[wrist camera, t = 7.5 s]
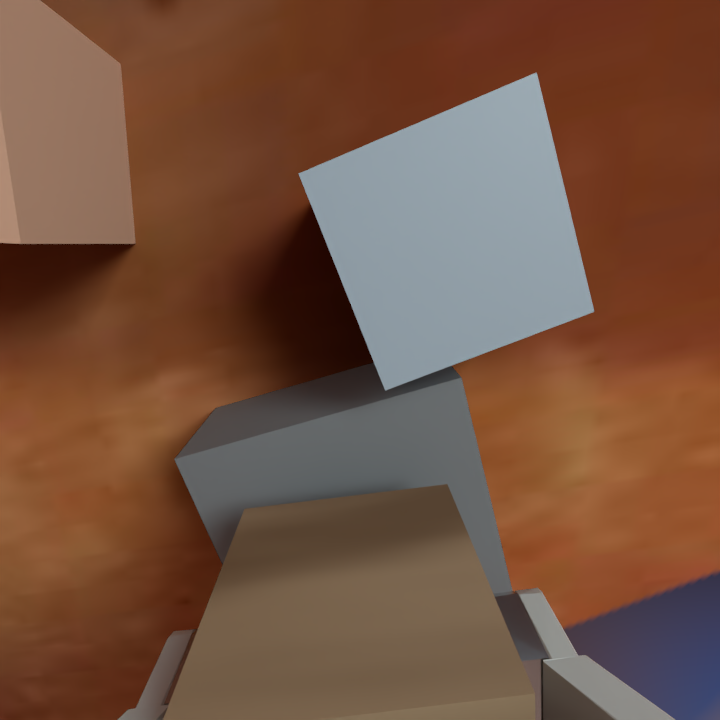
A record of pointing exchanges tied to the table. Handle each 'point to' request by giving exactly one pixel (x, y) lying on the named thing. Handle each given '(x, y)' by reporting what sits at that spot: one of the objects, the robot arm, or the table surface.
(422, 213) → the slate-blue cube
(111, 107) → the pale peach-beige cube
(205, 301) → the table surface
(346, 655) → the walnut cube
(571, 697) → the robot arm
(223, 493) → the gray square block
